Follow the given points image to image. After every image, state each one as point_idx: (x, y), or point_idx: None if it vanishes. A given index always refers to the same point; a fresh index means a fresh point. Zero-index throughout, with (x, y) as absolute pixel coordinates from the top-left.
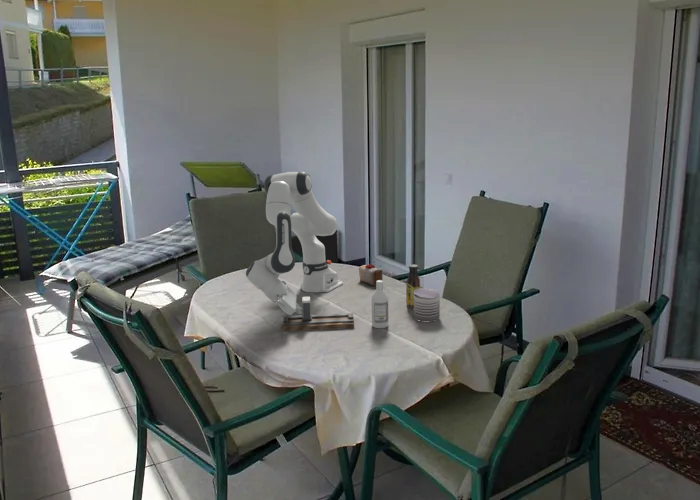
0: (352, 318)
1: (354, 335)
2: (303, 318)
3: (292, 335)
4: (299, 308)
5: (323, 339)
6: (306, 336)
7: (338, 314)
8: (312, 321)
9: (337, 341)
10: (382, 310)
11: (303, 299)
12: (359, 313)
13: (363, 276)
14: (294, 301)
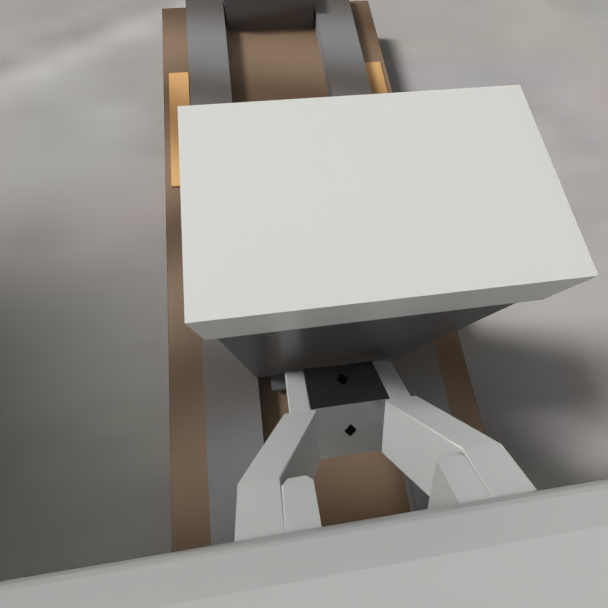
0: None
1: (479, 36)
2: (397, 357)
3: (570, 451)
4: (317, 421)
5: (586, 197)
6: (563, 322)
7: (206, 74)
8: None
9: (594, 116)
10: None
11: (458, 258)
12: (88, 8)
13: None
14: (503, 588)
